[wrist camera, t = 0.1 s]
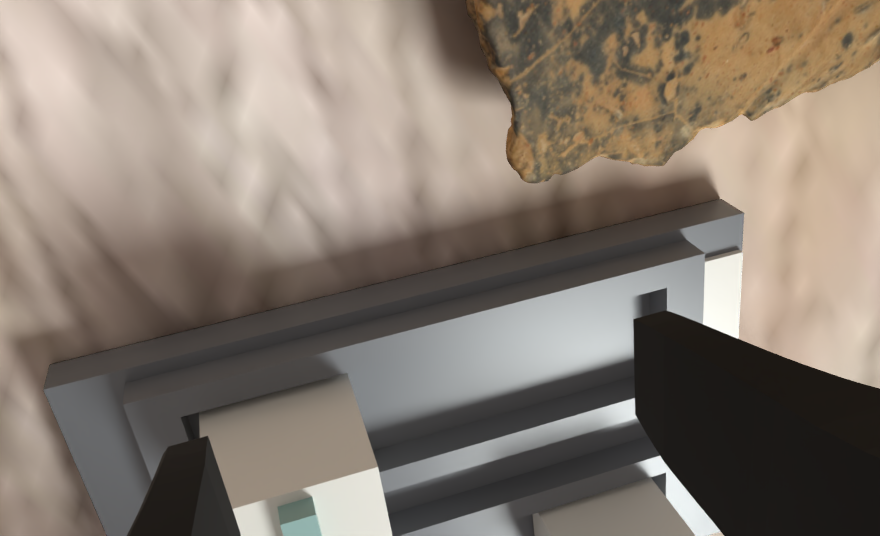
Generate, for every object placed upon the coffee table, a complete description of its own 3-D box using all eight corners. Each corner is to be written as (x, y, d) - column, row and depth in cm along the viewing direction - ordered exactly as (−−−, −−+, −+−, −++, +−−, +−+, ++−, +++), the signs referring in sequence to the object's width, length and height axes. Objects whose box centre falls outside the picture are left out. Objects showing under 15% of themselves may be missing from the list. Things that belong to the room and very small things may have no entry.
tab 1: (362, 447, 24) (403, 577, 20) (226, 486, 23) (237, 630, 19) (344, 364, 23) (383, 483, 18) (198, 402, 22) (203, 536, 18)
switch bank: (708, 508, 32) (743, 548, 30) (182, 678, 28) (182, 738, 26) (721, 198, 26) (764, 225, 24) (49, 364, 22) (37, 412, 20)
